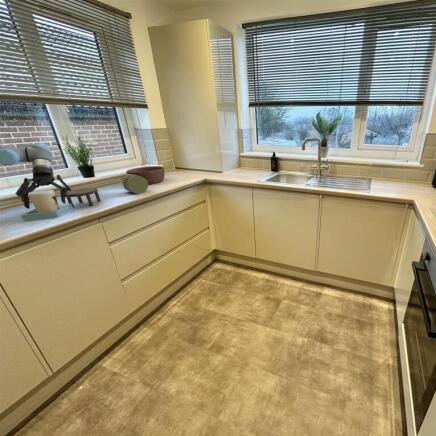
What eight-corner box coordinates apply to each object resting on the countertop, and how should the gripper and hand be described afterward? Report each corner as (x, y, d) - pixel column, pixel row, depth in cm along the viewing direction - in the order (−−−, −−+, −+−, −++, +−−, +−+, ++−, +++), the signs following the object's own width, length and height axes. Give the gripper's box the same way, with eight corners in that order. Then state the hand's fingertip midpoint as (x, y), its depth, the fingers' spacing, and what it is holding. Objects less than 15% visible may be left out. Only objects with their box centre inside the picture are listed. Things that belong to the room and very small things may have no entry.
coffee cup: (65, 213, 123) (56, 190, 118) (41, 219, 116) (30, 195, 111) (59, 210, 128) (50, 188, 123) (35, 215, 120) (24, 192, 116)
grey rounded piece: (141, 188, 166) (137, 172, 162) (149, 191, 159) (145, 174, 155) (123, 192, 157) (118, 175, 153) (131, 195, 151) (126, 177, 147)
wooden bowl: (169, 182, 181) (166, 169, 177) (130, 188, 168) (126, 173, 164) (164, 177, 200) (161, 165, 196) (129, 181, 187) (125, 168, 184)
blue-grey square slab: (24, 220, 114) (21, 215, 113) (43, 211, 126) (40, 206, 125) (58, 217, 117) (55, 211, 116) (73, 208, 129) (71, 203, 128)
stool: (64, 209, 128) (58, 195, 125) (78, 202, 140) (73, 188, 137) (94, 206, 131) (89, 192, 128) (105, 199, 144) (101, 186, 141)
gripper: (76, 171, 134) (80, 203, 128) (14, 177, 122) (15, 213, 116) (70, 163, 128) (74, 196, 121) (4, 168, 116) (5, 205, 110)
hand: (45, 204), depth 119 cm, fingers open, 13 cm apart
